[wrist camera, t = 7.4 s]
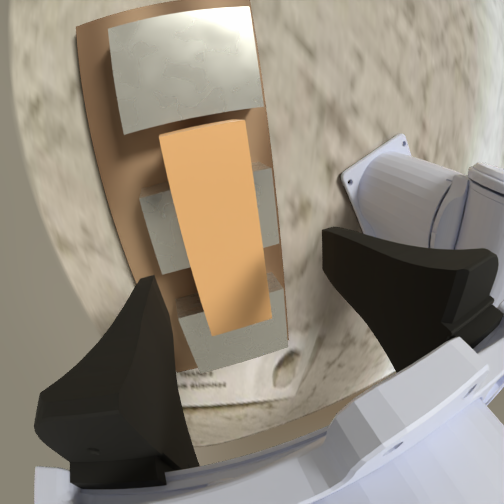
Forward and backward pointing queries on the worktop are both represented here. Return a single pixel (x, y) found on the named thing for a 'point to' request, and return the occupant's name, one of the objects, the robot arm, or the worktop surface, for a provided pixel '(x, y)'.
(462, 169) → the worktop surface
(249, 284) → the tan rectangular plank
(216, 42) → the rail
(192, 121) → the rail base
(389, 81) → the worktop surface
